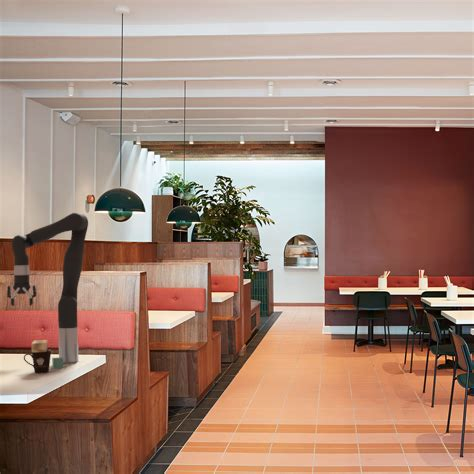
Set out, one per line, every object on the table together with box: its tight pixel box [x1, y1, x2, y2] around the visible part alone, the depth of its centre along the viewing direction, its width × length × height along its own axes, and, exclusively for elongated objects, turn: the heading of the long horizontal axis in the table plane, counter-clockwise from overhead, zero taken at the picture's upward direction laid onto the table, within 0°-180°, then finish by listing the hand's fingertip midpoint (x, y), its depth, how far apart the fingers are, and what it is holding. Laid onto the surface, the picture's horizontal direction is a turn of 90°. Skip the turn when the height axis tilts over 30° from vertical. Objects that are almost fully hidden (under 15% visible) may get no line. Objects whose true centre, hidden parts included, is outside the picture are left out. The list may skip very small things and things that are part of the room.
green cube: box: [51, 356, 64, 369], centre depth 330 cm, size 4×4×4 cm
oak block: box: [31, 339, 49, 353], centre depth 319 cm, size 6×11×4 cm, turn 10°
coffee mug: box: [23, 348, 52, 374], centre depth 318 cm, size 12×9×10 cm
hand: (22, 305), depth 352 cm, fingers open, 8 cm apart
